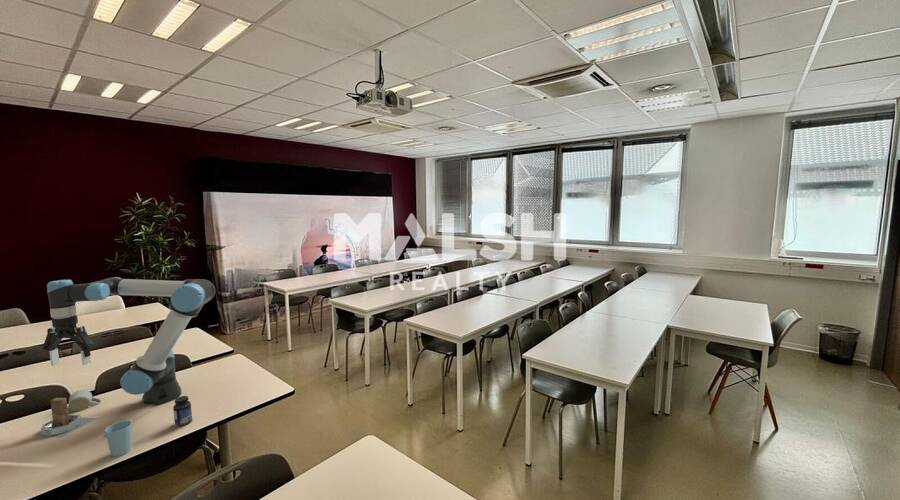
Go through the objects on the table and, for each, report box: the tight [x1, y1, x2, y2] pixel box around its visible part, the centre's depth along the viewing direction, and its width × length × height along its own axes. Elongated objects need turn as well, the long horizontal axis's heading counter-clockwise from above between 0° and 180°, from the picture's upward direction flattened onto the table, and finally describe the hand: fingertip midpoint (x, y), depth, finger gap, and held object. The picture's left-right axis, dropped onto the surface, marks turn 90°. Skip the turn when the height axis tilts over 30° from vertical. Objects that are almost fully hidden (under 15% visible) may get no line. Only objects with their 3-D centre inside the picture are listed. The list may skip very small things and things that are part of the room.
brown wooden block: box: [50, 397, 69, 426], centre depth 151 cm, size 2×4×12 cm, turn 85°
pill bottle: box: [172, 395, 193, 427], centre depth 156 cm, size 6×6×11 cm
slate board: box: [32, 416, 98, 438], centre depth 153 cm, size 13×14×1 cm
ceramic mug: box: [67, 389, 102, 412], centre depth 170 cm, size 11×8×8 cm
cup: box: [104, 420, 133, 458], centre depth 137 cm, size 8×8×10 cm
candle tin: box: [40, 413, 82, 436], centre depth 152 cm, size 11×11×3 cm
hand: (71, 364), depth 157 cm, fingers open, 13 cm apart
